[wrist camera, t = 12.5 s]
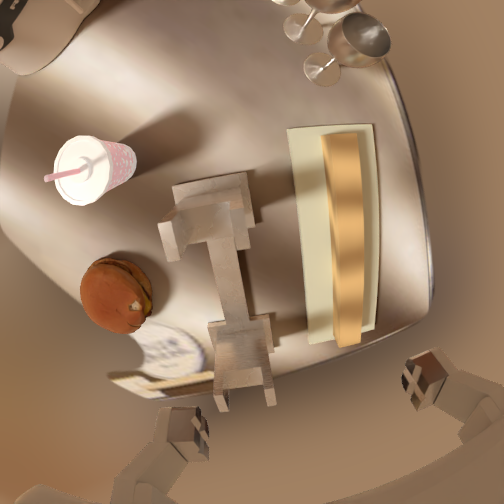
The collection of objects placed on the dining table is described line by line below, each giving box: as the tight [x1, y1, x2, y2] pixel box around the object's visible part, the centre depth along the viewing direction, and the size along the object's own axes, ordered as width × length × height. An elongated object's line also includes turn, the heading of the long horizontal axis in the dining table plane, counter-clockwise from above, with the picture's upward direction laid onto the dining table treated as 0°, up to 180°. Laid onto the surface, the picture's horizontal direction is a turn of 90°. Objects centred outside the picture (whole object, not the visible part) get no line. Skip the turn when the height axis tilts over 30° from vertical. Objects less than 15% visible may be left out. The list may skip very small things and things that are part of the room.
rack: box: [158, 172, 277, 412], centre depth 28 cm, size 24×8×12 cm, turn 9°
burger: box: [80, 258, 152, 334], centre depth 31 cm, size 10×9×5 cm
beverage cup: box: [44, 136, 137, 206], centre depth 21 cm, size 6×6×14 cm
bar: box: [320, 133, 364, 348], centre depth 31 cm, size 26×3×3 cm, turn 9°
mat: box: [287, 124, 379, 345], centre depth 32 cm, size 28×10×1 cm, turn 9°
